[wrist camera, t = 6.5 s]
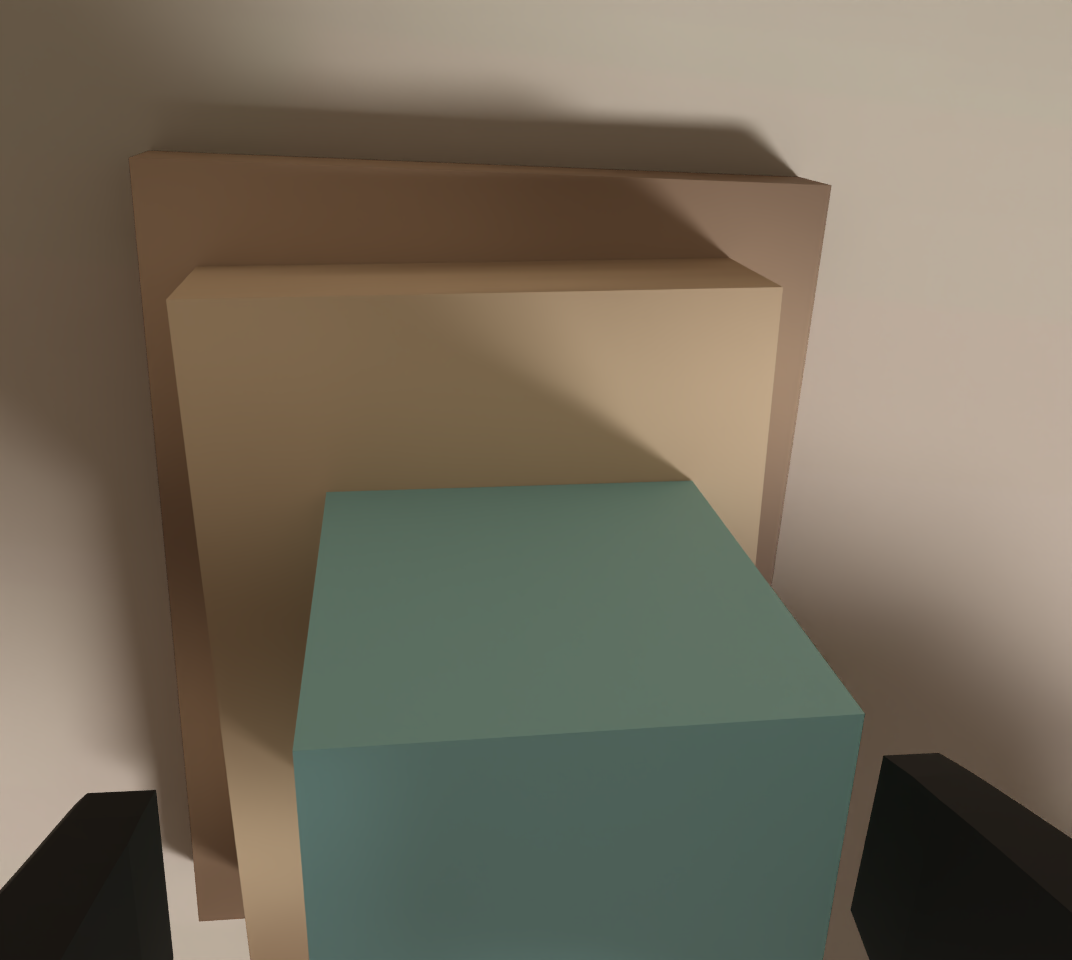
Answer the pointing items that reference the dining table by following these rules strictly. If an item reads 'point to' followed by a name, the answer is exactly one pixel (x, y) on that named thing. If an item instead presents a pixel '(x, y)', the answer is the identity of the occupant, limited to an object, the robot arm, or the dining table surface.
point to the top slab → (430, 447)
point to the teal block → (562, 734)
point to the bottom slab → (425, 237)
